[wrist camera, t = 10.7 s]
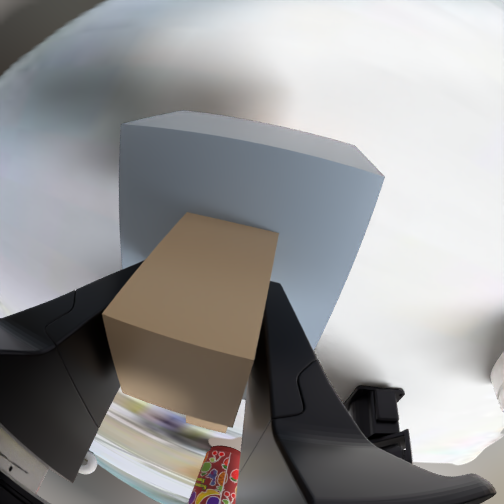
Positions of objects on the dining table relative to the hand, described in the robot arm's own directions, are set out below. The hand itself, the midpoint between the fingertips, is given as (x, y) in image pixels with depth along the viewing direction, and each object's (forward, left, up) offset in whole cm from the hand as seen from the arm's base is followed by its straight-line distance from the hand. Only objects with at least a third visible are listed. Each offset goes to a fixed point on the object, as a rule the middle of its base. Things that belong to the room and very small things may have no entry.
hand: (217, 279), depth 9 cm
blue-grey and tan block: (0, 0, -6) cm, 6 cm away
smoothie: (-48, -3, -13) cm, 50 cm away
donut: (-100, +41, -13) cm, 109 cm away
